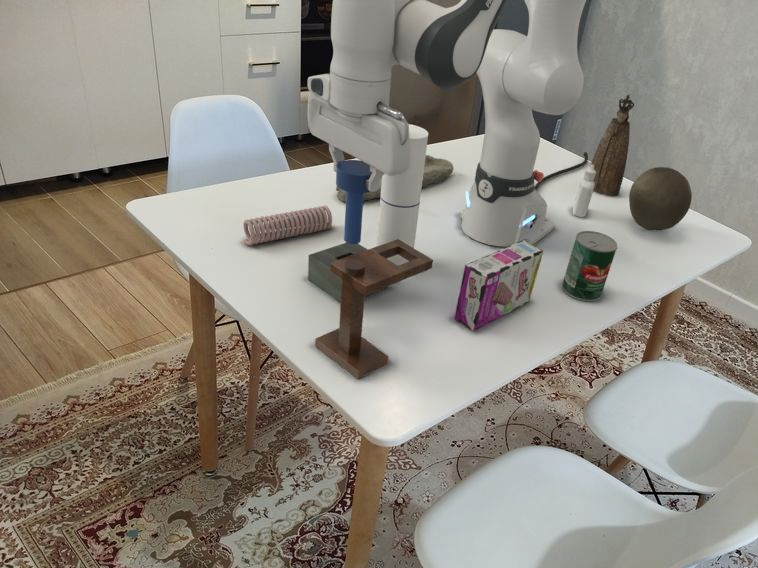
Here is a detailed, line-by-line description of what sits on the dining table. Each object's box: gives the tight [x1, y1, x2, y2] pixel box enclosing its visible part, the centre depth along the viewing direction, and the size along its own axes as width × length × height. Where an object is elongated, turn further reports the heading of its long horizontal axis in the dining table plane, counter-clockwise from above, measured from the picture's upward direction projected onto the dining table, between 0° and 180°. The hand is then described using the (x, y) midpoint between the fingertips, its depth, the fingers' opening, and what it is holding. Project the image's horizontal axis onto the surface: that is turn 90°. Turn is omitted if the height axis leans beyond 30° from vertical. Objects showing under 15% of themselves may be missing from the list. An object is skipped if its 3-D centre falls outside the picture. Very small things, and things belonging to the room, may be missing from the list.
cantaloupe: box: [628, 166, 693, 232], centre depth 152 cm, size 14×14×15 cm
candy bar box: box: [454, 240, 544, 332], centre depth 114 cm, size 11×5×16 cm
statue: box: [589, 94, 635, 197], centre depth 166 cm, size 9×8×25 cm
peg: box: [335, 159, 372, 244], centre depth 108 cm, size 6×6×13 cm
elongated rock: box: [335, 154, 454, 203], centre depth 153 cm, size 35×5×10 cm
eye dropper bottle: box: [572, 164, 596, 218], centre depth 155 cm, size 4×6×12 cm
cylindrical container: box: [375, 123, 429, 266], centre depth 119 cm, size 7×7×25 cm
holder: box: [307, 242, 389, 303], centre depth 115 cm, size 10×10×5 cm
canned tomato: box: [561, 230, 618, 302], centre depth 125 cm, size 8×8×11 cm
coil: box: [243, 205, 333, 246], centre depth 126 cm, size 5×5×18 cm
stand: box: [314, 239, 434, 380], centre depth 99 cm, size 15×10×16 cm
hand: (355, 181), depth 106 cm, fingers closed on peg, 6 cm apart
